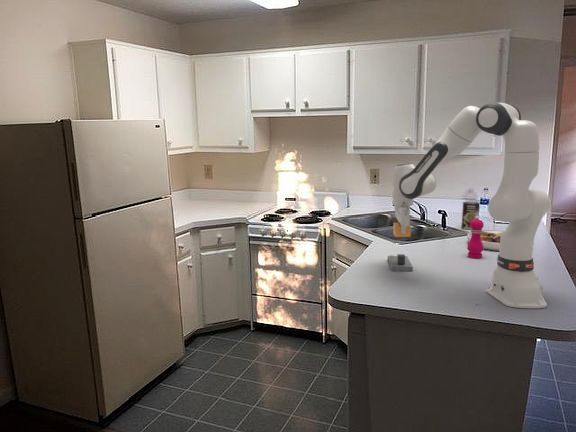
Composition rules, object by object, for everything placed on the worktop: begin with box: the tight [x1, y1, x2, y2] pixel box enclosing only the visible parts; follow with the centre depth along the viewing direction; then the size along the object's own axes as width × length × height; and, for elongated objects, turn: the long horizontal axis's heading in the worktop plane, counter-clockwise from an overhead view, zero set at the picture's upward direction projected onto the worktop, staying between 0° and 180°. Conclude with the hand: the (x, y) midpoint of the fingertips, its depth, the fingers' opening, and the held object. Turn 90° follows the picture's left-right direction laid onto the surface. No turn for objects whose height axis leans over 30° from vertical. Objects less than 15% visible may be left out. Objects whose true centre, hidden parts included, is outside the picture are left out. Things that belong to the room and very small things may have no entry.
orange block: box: [392, 222, 412, 238], centre depth 204 cm, size 7×7×5 cm
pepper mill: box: [466, 216, 484, 259], centre depth 220 cm, size 7×7×20 cm
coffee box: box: [460, 201, 480, 231], centre depth 279 cm, size 9×6×16 cm
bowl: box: [467, 229, 505, 252], centre depth 242 cm, size 30×30×8 cm
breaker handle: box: [396, 253, 406, 264], centre depth 206 cm, size 3×3×4 cm
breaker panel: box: [387, 254, 414, 272], centre depth 211 cm, size 17×9×3 cm, turn 174°
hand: (401, 231), depth 204 cm, fingers closed on orange block, 7 cm apart
